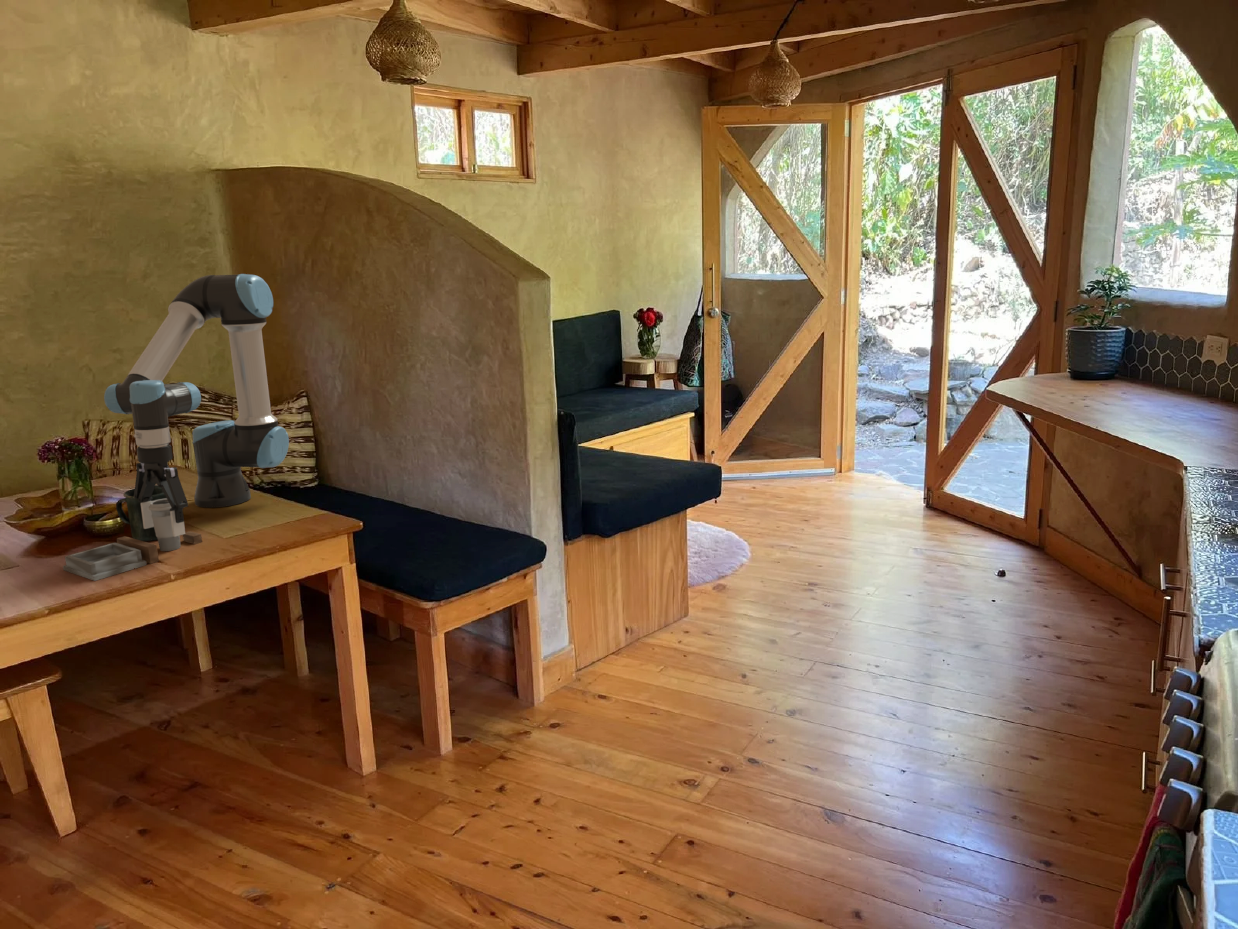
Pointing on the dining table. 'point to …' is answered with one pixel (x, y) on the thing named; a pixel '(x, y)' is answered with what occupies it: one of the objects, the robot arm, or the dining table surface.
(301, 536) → the dining table surface
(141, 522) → the mug
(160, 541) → the cup
